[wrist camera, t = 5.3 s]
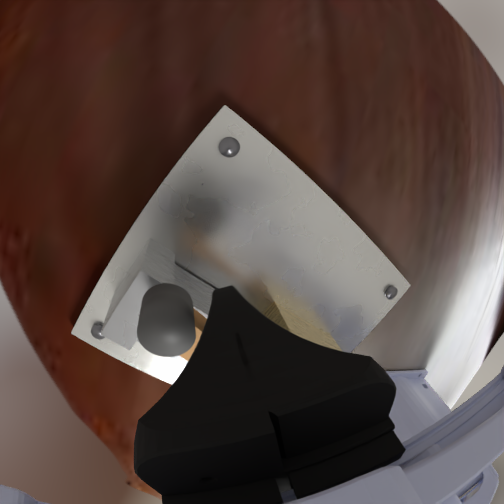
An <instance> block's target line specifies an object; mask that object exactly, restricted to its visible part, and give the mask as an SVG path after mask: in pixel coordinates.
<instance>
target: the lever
mask: <svg viewBox="0 0 504 504" xmlns="http://www.w3.org/2000/svg"><path fill="white" fill-rule="evenodd" d="M206 320H207V318H205V317H204V316H203V315H202V314H200V313H199V312H198V311H197V310H196V309H194V308H193V301H192V298H191V296H190V295H189V293H188V292H187V291H186V290H185V289H183V288H182V287H180V286H178V285H175V284H171V283H162V284H157V285H155V286H153V287H151V288H150V289H148V290H147V291H146V293H145V294H144V296H143V299H142V303H141V309H140V314H139V320H138V326H137V337H138V340H139V342H140V344H141V345H142V346H143V347H144V348H145V349H146V350H147V351H149V352H150V353H152V354H154V355H157V356H161V357H175V356H181V357H182V358H184V359H185V360H187V361H189V359H190V357H191V355H192V353H193V352H194V350H195V348H196V346H197V343H198V341H199V339H200V336H201V334H202V331H203V329H204V326H205V323H206Z"/></svg>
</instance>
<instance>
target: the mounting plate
mask: <svg viewBox="0 0 504 504" xmlns="http://www.w3.org/2000/svg"><path fill="white" fill-rule="evenodd" d="M149 238H151V239H153V240H154V241H156V242H157V243H159V244H160V245H162V246H163V247H165V248H167V249H168V250H170V251H171V252H173V253H174V254H175V264H176V265H177V266H179V267H180V268H182V269H183V270H185V271H187V272H188V273H190V274H191V275H193V276H195V277H196V278H198V279H199V280H201V281H203V282H204V283H206V284H208V285H209V286H211V287H212V288H214V289H219V288H223V287H227V286H231V285H232V286H234V287H236V289H237V290H238V291H239V293H240V294H241V295H242V296H243V297H244V298H245V299H246V300H247V301H248V302H249V303H250V304H251V305H252V306H254V307H255V308H256V309H257V310H258V311H260V312H261V313H262V314H263V313H264V312H265V311H266V310H267V309H268V308H269V306H270V305H271V304H272V303H273V302H274V301H275V302H276V303H278V304H279V305H281V306H283V307H284V308H286V309H287V310H289V311H291V312H292V313H294V314H295V315H297V316H299V317H300V318H302V319H303V320H305V321H307V322H308V323H310V324H312V325H313V326H315V327H316V328H318V329H320V330H321V331H323V332H325V333H326V334H328V335H330V336H331V337H333V338H334V340H335V341H336V343H337V344H338V346H339V347H340V348H341V350H342V351H343V352H348V353H350V352H351V351H352V350H353V349H354V348H355V347H356V346H357V345H358V344H359V343H360V342H361V341H362V340H363V339H364V338H365V337H366V336H367V335H368V334H369V333H370V332H371V331H372V330H373V329H374V327H375V326H376V325H377V324H378V323H379V322H380V321H381V320H382V319H383V318H384V317H385V315H386V314H387V313H388V312H389V311H390V310H391V309H392V307H393V306H394V305H395V304H396V303H397V302H398V300H399V299H400V298H401V297H402V296H403V295H404V293H405V292H406V291H407V290H408V288H409V287H410V286H411V285H410V284H409V283H408V281H407V280H406V279H405V278H404V277H403V275H402V274H401V273H400V272H399V271H398V270H397V269H396V267H395V266H394V265H393V264H392V263H391V262H390V261H389V259H388V258H387V257H386V256H385V255H384V254H383V253H382V252H381V250H380V249H379V248H378V247H377V246H376V245H375V244H374V243H373V242H372V241H371V240H370V238H369V237H368V236H367V235H366V234H365V233H364V232H363V231H362V230H361V229H360V228H359V227H358V226H357V225H356V224H355V223H354V222H353V220H352V219H351V218H350V217H349V216H348V215H347V214H346V213H345V212H344V211H343V210H342V209H341V208H340V207H339V206H338V205H337V204H336V203H335V202H334V201H333V200H332V199H331V198H330V197H329V196H328V195H327V194H326V193H325V192H324V191H323V190H322V189H321V188H320V187H318V186H317V185H316V184H315V183H314V182H313V181H312V180H311V179H310V178H309V177H308V176H307V175H306V174H305V173H304V172H303V171H302V170H300V169H299V168H298V167H297V166H296V165H295V164H294V163H293V162H292V161H291V160H290V159H288V158H287V157H286V156H285V155H284V154H283V153H282V152H281V151H279V150H278V149H277V148H276V147H275V146H274V145H273V144H272V143H270V142H269V141H268V140H267V139H266V138H265V137H263V136H262V135H261V134H260V133H259V132H258V131H256V130H255V129H254V128H253V127H252V126H250V125H249V124H248V123H247V122H246V121H244V120H243V119H242V118H241V117H239V116H238V115H237V114H236V113H234V112H233V111H232V110H231V109H229V108H228V107H227V106H226V105H224V106H223V107H222V108H221V109H220V110H219V111H218V113H217V114H216V115H215V116H214V117H213V118H212V120H211V121H210V122H209V123H208V124H207V126H206V127H205V128H204V129H203V130H202V132H201V133H200V134H199V135H198V136H197V138H196V139H195V140H194V141H193V143H192V144H191V145H190V146H189V148H188V149H187V150H186V151H185V153H184V154H183V155H182V157H181V158H180V159H179V160H178V162H177V163H176V164H175V166H174V167H173V168H172V170H171V171H170V172H169V174H168V175H167V176H166V178H165V179H164V180H163V182H162V183H161V185H160V186H159V187H158V189H157V190H156V191H155V193H154V194H153V196H152V197H151V199H150V200H149V201H148V203H147V204H146V206H145V207H144V209H143V210H142V212H141V213H140V215H139V216H138V218H137V219H136V221H135V222H134V224H133V225H132V227H131V228H130V230H129V231H128V233H127V234H126V236H125V237H124V239H123V241H122V242H121V244H120V245H119V247H118V249H117V250H116V252H115V254H114V255H113V257H112V258H111V260H110V262H109V263H108V265H107V267H106V269H105V270H104V272H103V274H102V275H101V277H100V279H99V281H98V282H97V284H96V286H95V288H94V290H93V291H92V293H91V295H90V297H89V299H88V301H87V302H86V304H85V306H84V308H83V310H82V312H81V314H80V316H79V318H78V320H77V322H76V324H75V326H74V328H73V330H72V332H71V333H72V334H73V335H75V336H77V337H78V338H80V339H82V340H83V341H85V342H87V343H89V344H90V345H92V346H94V347H96V348H98V349H100V350H101V351H103V352H105V353H107V354H109V355H111V356H113V357H115V358H117V359H118V360H120V361H122V362H124V363H126V364H128V365H131V366H133V367H135V368H137V369H139V370H141V371H143V372H145V373H147V374H150V375H152V376H154V377H156V378H159V379H161V380H163V381H165V382H168V383H170V384H173V383H174V382H175V381H176V379H177V378H178V376H179V375H180V373H181V372H182V370H183V369H184V367H185V366H186V365H184V364H182V363H180V362H178V361H176V360H174V359H171V358H169V357H161V356H157V355H154V354H152V353H150V352H149V351H147V350H146V349H145V348H144V347H143V346H142V345H141V344H140V343H139V342H137V341H136V342H135V344H134V345H133V347H132V348H131V349H130V350H128V349H126V348H124V347H122V346H120V345H119V344H117V343H115V342H113V341H111V340H109V339H107V338H106V337H104V336H102V335H100V333H101V330H102V327H103V324H104V321H105V318H106V315H107V312H108V309H109V306H110V303H111V300H112V297H113V294H114V292H115V290H116V289H117V287H118V286H119V284H120V282H121V281H122V279H123V278H124V276H125V275H126V273H127V271H128V270H129V268H130V267H131V265H132V264H133V262H134V261H135V259H136V258H137V256H138V255H139V253H140V252H141V250H142V249H143V247H144V246H145V244H146V243H147V241H148V240H149Z"/></svg>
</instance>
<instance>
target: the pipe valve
mask: <svg viewBox="0 0 504 504" xmlns="http://www.w3.org/2000/svg"><path fill="white" fill-rule="evenodd" d="M162 283H171V284H175V285H178V286H180V287H182V288H183V289H185V290H186V291H187V292H188V293H189V295H190V296H191V298H192V301H193V308H194V309H196V310H197V311H198V312H199V313H200V314H202V315H203V316H204V317H205V318H207V317H208V314H209V310H210V306H211V301H212V293H213V291H214V290H215V289H214V288H212V287H211V286H209V285H208V284H206V283H204V282H203V281H201V280H199V279H198V278H196V277H195V276H193V275H191V274H190V273H188V272H187V271H185V270H183V269H182V268H180V267H179V266H177V265H176V264H175V254H174V253H173V252H171V251H170V250H168V249H167V248H165V247H163V246H162V245H160V244H159V243H157V242H156V241H154V240H153V239H151V238H149V240H148V241H147V243H146V244H145V246H144V247H143V249H142V250H141V252H140V253H139V255H138V256H137V258H136V259H135V261H134V262H133V264H132V265H131V267H130V268H129V270H128V271H127V273H126V275H125V276H124V278H123V279H122V281H121V282H120V284H119V286H118V287H117V289H116V290H115V292H114V294H113V297H112V300H111V303H110V306H109V309H108V312H107V315H106V318H105V321H104V324H103V327H102V330H101V333H100V335H102V336H104V337H106V338H107V339H109V340H111V341H113V342H115V343H117V344H119V345H120V346H122V347H124V348H126V349H128V350H130V349H131V348H132V347H133V345H134V344H135V342H136V341H137V342H139V340H138V337H137V326H138V320H139V314H140V309H141V303H142V299H143V296H144V294H145V293H146V291H147V290H148V289H150V288H151V287H153V286H155V285H157V284H162ZM263 315H265V316H266V317H267V318H269V319H270V320H272V321H273V322H274V323H276V324H278V325H279V326H281V327H282V328H284V329H286V330H288V331H289V332H291V333H293V334H295V335H297V336H299V337H301V338H304V339H306V340H309V341H311V342H314V343H316V344H319V345H322V346H325V347H328V348H332V349H335V350H339V351H342V350H341V348H340V347H339V346H338V344H337V343H336V341H335V340H334V338H333V337H331V336H330V335H328V334H326V333H325V332H323V331H321V330H320V329H318V328H316V327H315V326H313V325H312V324H310V323H308V322H307V321H305V320H303V319H302V318H300V317H299V316H297V315H295V314H294V313H292V312H291V311H289V310H287V309H286V308H284V307H283V306H281V305H279V304H278V303H276V302H275V301H274V302H273V303H272V304H271V305H270V306H269V308H268V309H267V310H266V311H265V312H264V313H263ZM139 343H140V342H139ZM169 358H171V359H174V360H176V361H178V362H180V363H182V364H184V365H186V364H187V362H188V361H187V360H185V359H184V358H182V357H181V356H175V357H169Z"/></svg>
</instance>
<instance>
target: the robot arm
mask: <svg viewBox="0 0 504 504" xmlns="http://www.w3.org/2000/svg"><path fill="white" fill-rule="evenodd" d="M427 373H428V371H427V370H426V369H425V370H408V371H385V370H384V369H383V368H382V367H381V366H380V365H379V364H378V363H377V362H376V361H374V360H373V359H372V357H370V356H364V355H358V354H353V353H348V352H343V351H339V350H335V349H332V348H328V347H325V346H322V345H319V344H316V343H314V342H311V341H309V340H306V339H304V338H301V337H299V336H297V335H295V334H293V333H291V332H289V331H288V330H286V329H284V328H282V327H281V326H279V325H278V324H276V323H274V322H273V321H272V320H270V319H269V318H267V317H266V316H265V315H263V314H262V313H261V312H260V311H258V310H257V309H256V308H255V307H254V306H252V305H251V304H250V303H249V302H248V301H247V300H246V299H245V298H244V297H243V296H242V295H241V294H240V293H239V291H238V290H237V289H236V287H234V286H232V285H231V286H227V287H223V288H219V289H215V290H214V291H213V293H212V301H211V306H210V310H209V314H208V317H207V320H206V323H205V326H204V329H203V331H202V334H201V336H200V339H199V341H198V343H197V346H196V348H195V350H194V352H193V353H192V355H191V357H190V359H189V361H188V362H187V364H186V366H185V367H184V369H183V370H182V372H181V373H180V375H179V376H178V378H177V379H176V381H175V382H174V383H173V384H172V386H171V387H170V388H169V389H168V391H167V392H166V393H165V394H164V395H163V397H162V398H161V399H160V400H159V401H158V402H157V403H156V404H155V405H154V406H153V407H152V408H151V409H150V410H149V411H148V412H147V413H146V414H144V415H143V416H142V417H141V418H140V419H139V420H138V424H137V430H136V435H135V441H134V470H135V473H136V474H137V475H138V477H139V478H140V479H141V480H143V481H144V482H145V483H147V484H148V485H149V486H150V487H152V488H153V489H155V490H156V491H157V492H159V493H160V494H161V495H162V503H163V504H490V503H491V501H492V499H493V496H494V494H495V492H496V490H497V487H498V484H499V480H498V477H499V475H498V474H497V472H496V471H495V469H494V468H493V466H492V462H493V461H494V460H496V459H497V458H498V457H499V455H501V454H502V453H503V452H504V366H503V367H502V370H501V373H500V374H499V375H497V376H496V377H495V378H494V379H493V380H492V381H491V382H489V383H488V384H487V385H486V386H485V387H483V388H482V389H481V390H480V391H479V392H477V393H476V394H475V395H473V396H472V397H471V398H470V399H468V400H467V401H466V402H464V403H463V404H462V405H460V406H459V407H458V408H456V409H455V410H454V411H452V412H451V410H450V409H449V407H448V406H447V405H446V404H445V403H444V401H443V400H442V399H441V398H440V397H439V395H438V394H437V393H436V392H435V391H434V389H433V388H432V387H431V386H430V385H429V384H428V382H427V381H426V380H425V379H424V378H425V376H426V375H427ZM477 483H478V484H477ZM475 484H477V485H476V486H475V487H474V488H473V489H472V490H471V491H470V492H469V493H468V494H466V495H465V496H463V497H462V498H461V499H459V497H460V496H462V495H463V494H464V493H465V492H467V491H468V490H469V489H471V488H472V487H473V486H474V485H475ZM0 504H49V503H45V502H39V501H36V500H35V499H34V498H33V497H31V496H30V495H28V494H26V493H25V492H23V491H21V490H18V489H15V488H11V487H7V486H4V485H1V484H0Z"/></svg>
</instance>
